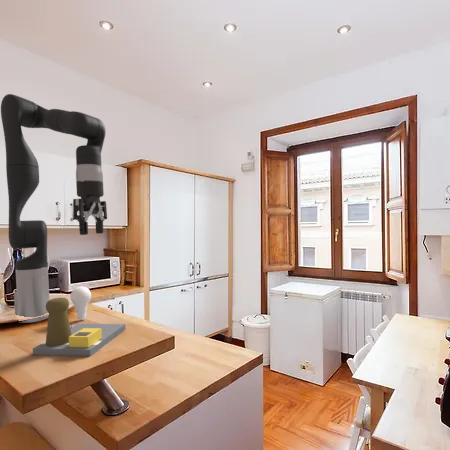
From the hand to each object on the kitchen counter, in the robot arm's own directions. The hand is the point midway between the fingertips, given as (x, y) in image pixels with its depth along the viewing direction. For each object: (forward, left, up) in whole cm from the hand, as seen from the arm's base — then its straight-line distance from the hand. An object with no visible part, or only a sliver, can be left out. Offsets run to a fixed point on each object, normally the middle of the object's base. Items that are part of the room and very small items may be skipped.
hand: (92, 234), depth 95 cm
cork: (0, -17, -27) cm, 32 cm away
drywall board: (+4, -12, -28) cm, 31 cm away
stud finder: (+7, -17, -26) cm, 32 cm away
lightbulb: (-8, +5, -28) cm, 30 cm away
